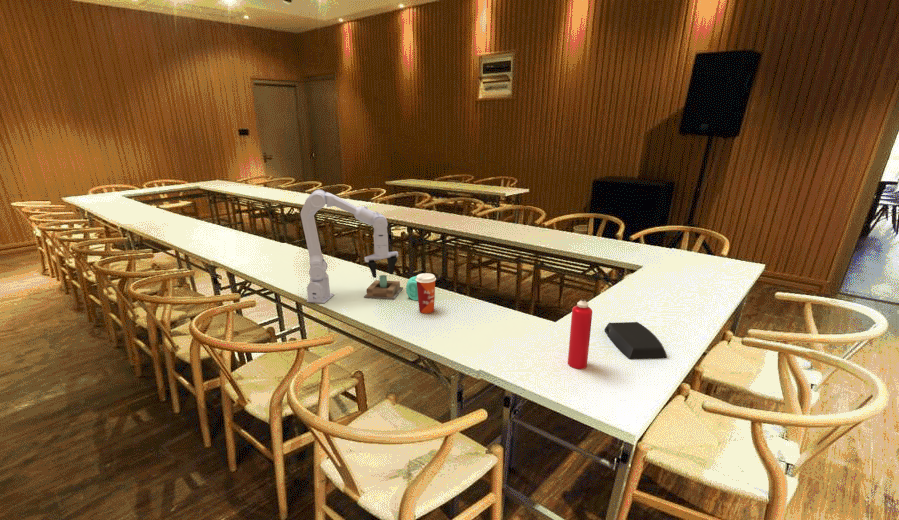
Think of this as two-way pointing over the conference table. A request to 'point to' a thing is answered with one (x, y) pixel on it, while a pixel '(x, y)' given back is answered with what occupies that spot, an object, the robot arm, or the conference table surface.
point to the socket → (383, 290)
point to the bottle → (579, 335)
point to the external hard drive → (635, 340)
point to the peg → (383, 281)
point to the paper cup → (426, 292)
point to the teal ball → (412, 288)
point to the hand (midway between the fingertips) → (382, 275)
